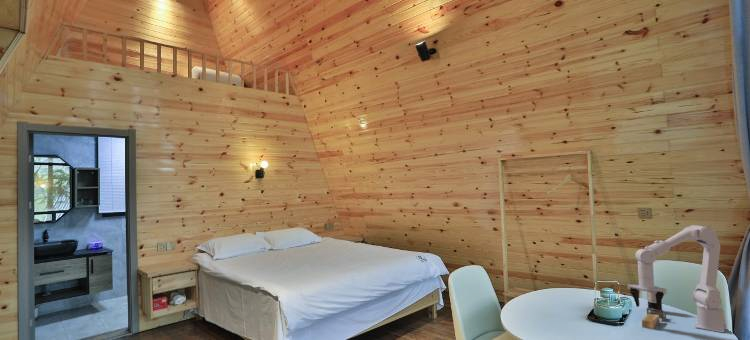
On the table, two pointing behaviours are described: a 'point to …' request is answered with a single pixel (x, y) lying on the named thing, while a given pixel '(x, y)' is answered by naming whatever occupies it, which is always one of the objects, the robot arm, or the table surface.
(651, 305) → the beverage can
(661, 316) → the dispenser
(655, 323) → the orange brown rectangular block
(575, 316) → the table surface
